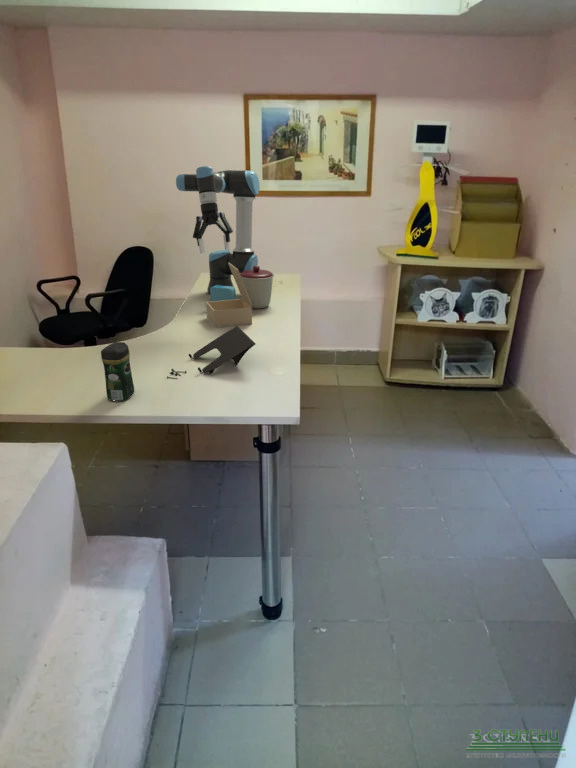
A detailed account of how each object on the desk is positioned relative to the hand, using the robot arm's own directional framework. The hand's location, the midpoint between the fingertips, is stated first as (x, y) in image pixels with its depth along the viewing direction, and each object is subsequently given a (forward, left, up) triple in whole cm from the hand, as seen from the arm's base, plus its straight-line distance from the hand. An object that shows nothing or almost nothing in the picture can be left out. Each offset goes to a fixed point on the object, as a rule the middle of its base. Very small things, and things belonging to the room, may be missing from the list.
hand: (214, 251), depth 258 cm
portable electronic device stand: (+54, -12, -33) cm, 65 cm away
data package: (-17, +7, -33) cm, 38 cm away
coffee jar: (+73, -51, -33) cm, 95 cm away
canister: (-18, +25, -33) cm, 45 cm away
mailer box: (+2, +5, -33) cm, 33 cm away
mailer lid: (+2, +11, -15) cm, 19 cm away
